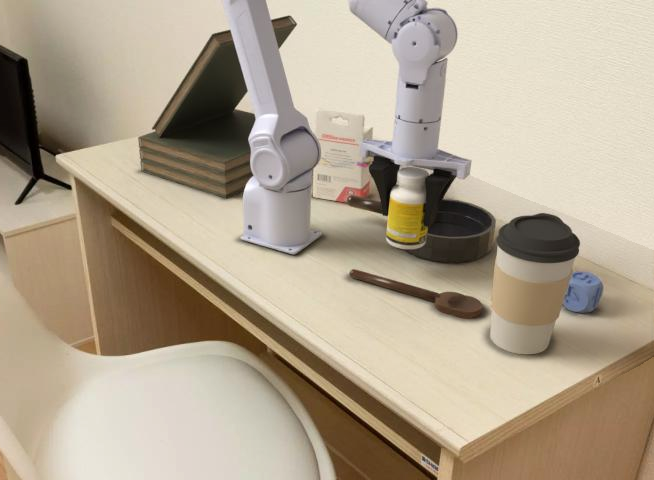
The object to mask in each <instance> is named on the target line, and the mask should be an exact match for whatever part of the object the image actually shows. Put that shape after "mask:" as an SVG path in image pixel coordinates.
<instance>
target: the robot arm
mask: <svg viewBox="0 0 654 480" xmlns="http://www.w3.org/2000/svg"><path fill="white" fill-rule="evenodd" d="M221 1H222V6H223V9H224V13H225V17H226V19H227V23H228V26H229V30H231V34H232V37H233V41H234V44H235V48H236V51H237V55H238V58H239V62H240V65H241V69H242V72H243V76H244V79H245V83H246V86H247V90H248V92H247V93H248V96H249V100H250V104H251V106H252V110H253V114H255V118H256V120H255V123H254V126H253V128H252V130H251V133H250V135H249V138H248V141H249V144H250V148H251V158H250V166H251V170H252V173H253V175H254V176H253V177H251V178H250V180H249V181H248V182H247V184H246V186H245V189H244V190H243V195H242V225H243V226H242V227H243V231H242V232H243V234H241V235H240V240H242V241H245V242H249V243H251V244H254V245H255V244H256V245H258V246H262V247H266V248H269V249H272V250H277V251H279V252H283V253H285V254H290V255H296V254H298V253H300V252H301V251H302V250H303V249H305V248H306V247H307V246H309V245H310V244H312V243H313V242H314V241H316V240H317V239H318V238H321V236H322V232H321V231H318V230H315V229H311V215H312V214H311V211H312V209H311V208H312V181H313V179H312V178H313V171H314V170H313V169H314V168H315V167H316V166H317V165H318V163H319V161H320V159H321V146H320V143H319V141H318V139H317V137H316V136H315V135H314V131H313V130H312V129H311V126H310V122H309V120H308V117H307V116H306V115H304V114H303V113H302V112H301V111H299V110H297V109H296V108H295V104H294V101H293V96H292V93H291V89H290V85H289V82H288V79H287V74H286V71H285V67H284V63H283V60H282V56H281V53H280V52H281V51H280V48H278V44H277V41H276V37H275V33H274V29H273V26H272V22H271V20H272V19H271V14H270V11H269V8H268V4H267V0H221ZM347 3H348V9H349V12H350V13H351V14H353V15H354V16H355V17H356V18H358V19H359V20H360V21H361V22H363V23H364V24H365V25H366V26H367V27H369V28H370V29H371V30H373V31H374V32H375V33H376V34H377V35H378V36H380V37H381V38H382V39H383V40H385V41H386V42H387V43H389V44H390V45H391V49H392V53H393V56H394V58H395V59H396V61H397V63H398V74H397V83H396V84H397V85H396V94H395V95H396V97H395V108H394V119H393V120H394V122H393V131H392V132H393V133H392V140H381V139H380V140H379V139H373V138H372V139H365V140H364V141H362V142H360V153H359V156H360V157H364V158H367V157H371V158H372V160H371V164H370V165H369V172H370V174H371V175H370V177H371V178H372V180H373V183H374V185H375V187H376V191H377V194H378V197H379V201H380V202H381V207H382V214H381V215H382V216H384V217H388V212H389V202H390V192H391V189H392V188H393V187H394V186H395V185H397V184H398V183H397V174H398V171H399V170H400V169H401V166H403V167H415V168H421V169H424V170H428V171H429V170H430V171H432V173H430V174H429V176H427V177H426V178H425V186H426V207H425V214H424V226H427V227H429V226H430V225H432V224H433V223H434V222H435V218H436V215H437V212H438V209H439V207H440V204H441V202H442V200H443V199H445V196H446V194H447V192H448V190H449V189H450V187H451V186H452V184H453V182H454V181H455V180H456V178H457V179H460V180H465V179H467V178H468V177H469V176H470V175H471V169H472V159H469V158H465V157H462V156H458V155H456V154H453V153H451V152H448V151H445V150H442V149H439V142H440V134H441V133H440V132H441V124H442V118H443V117H442V116H443V107H444V99H445V88H446V81H447V79H446V78H447V77H446V76H447V68H448V60H449V58H448V56H449V55H450V54H451V53H452V52H453V50H454V49H455V47H456V45H457V42H458V37H459V35H458V27H457V25H456V22H455V21H454V19H453V17H452V16H451V15H450V14H449V13H448V11H447V10H446V9H445V8H441V7H428V5H429V2H428V1H427V0H347Z"/></svg>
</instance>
